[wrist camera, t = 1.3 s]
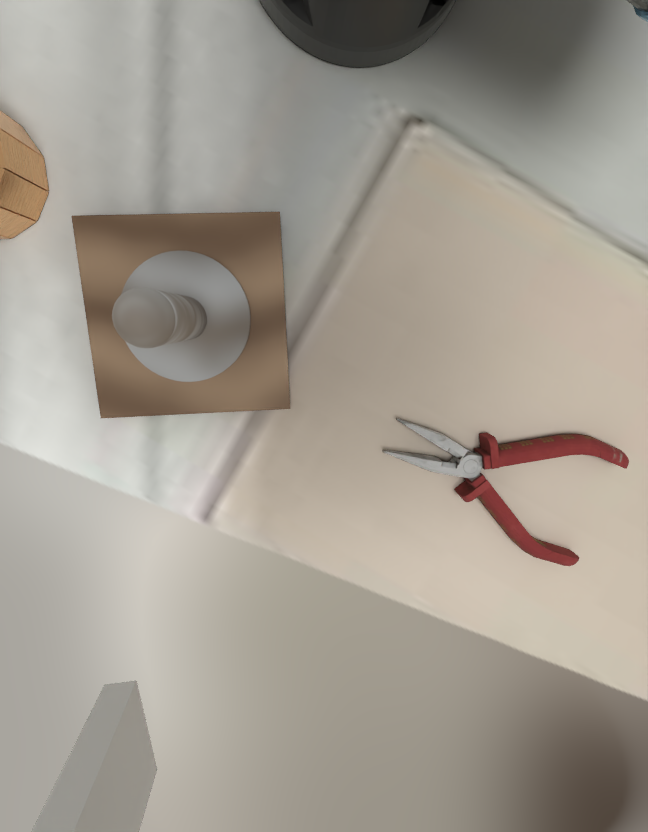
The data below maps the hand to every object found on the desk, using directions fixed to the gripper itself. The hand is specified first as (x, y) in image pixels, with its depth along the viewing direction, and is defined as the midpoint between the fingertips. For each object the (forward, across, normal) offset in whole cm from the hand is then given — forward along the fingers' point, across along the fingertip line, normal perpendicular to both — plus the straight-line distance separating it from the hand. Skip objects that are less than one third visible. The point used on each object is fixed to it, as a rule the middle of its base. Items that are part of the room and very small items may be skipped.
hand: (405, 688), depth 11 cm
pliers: (+27, +16, -5) cm, 31 cm away
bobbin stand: (+26, -9, +10) cm, 29 cm away
